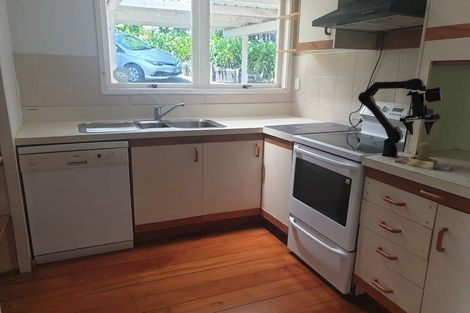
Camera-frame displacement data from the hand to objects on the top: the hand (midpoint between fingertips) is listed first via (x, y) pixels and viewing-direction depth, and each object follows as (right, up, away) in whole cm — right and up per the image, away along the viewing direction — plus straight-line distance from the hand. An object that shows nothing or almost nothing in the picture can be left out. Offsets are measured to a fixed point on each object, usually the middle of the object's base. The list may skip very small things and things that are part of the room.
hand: (419, 134), depth 172 cm
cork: (-3, -15, -7) cm, 17 cm away
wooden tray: (-3, -15, -8) cm, 17 cm away
